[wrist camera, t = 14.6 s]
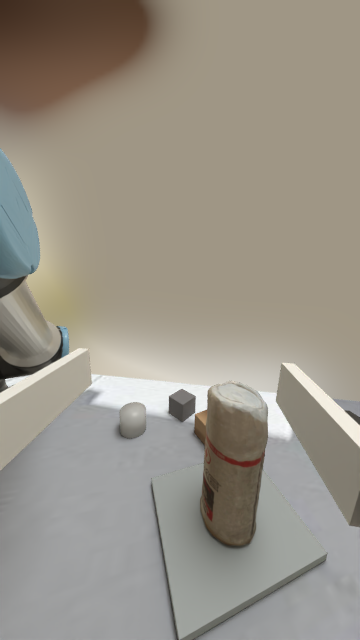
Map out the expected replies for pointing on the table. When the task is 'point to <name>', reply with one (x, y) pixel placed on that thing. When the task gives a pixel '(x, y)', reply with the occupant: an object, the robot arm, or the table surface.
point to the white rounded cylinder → (132, 420)
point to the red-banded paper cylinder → (233, 461)
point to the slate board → (226, 552)
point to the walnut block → (201, 425)
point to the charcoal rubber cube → (182, 404)
